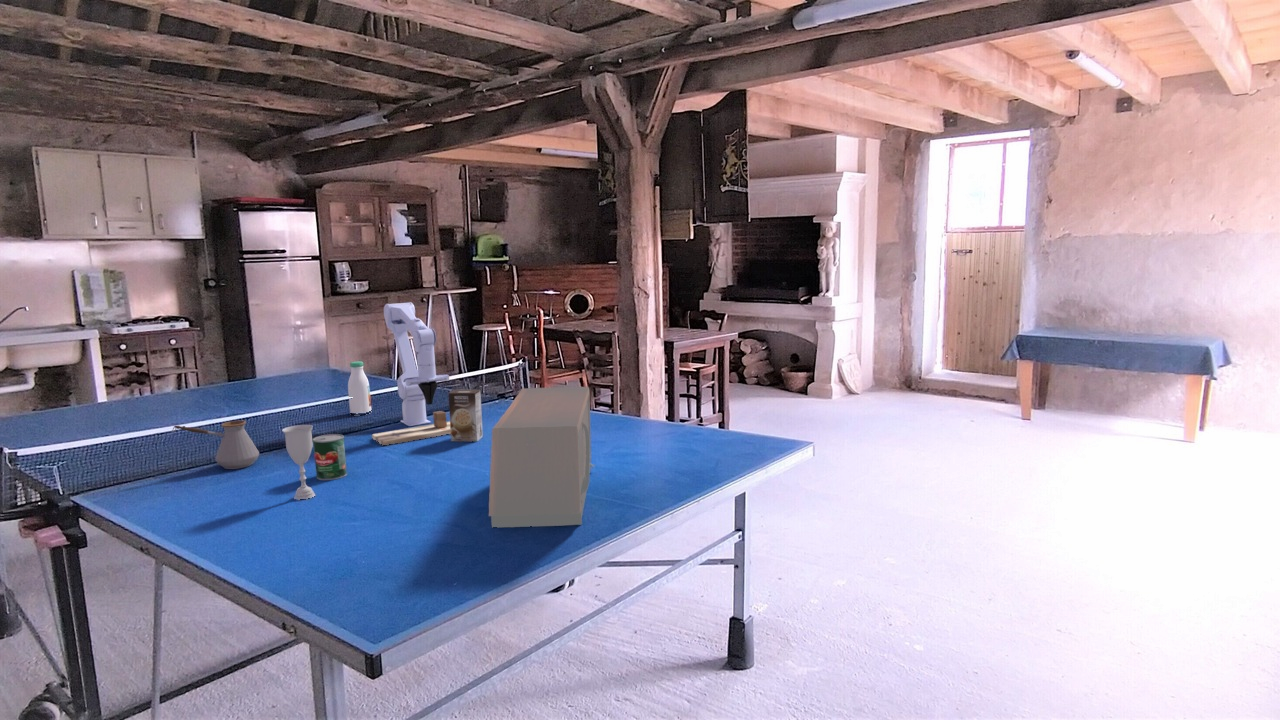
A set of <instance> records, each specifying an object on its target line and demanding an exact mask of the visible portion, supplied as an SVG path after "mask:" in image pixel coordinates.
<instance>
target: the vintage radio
mask: <svg viewBox="0 0 1280 720" xmlns="http://www.w3.org/2000/svg"><path fill="white" fill-rule="evenodd" d="M590 400H591V399H590V387H589V386H565V387H564V386H560V387H559V386H558V387H555V386H554V387H529V388H521V390H520V391H519V392H518V394H517V395H516V396H515V398H514V400H513V401H512V403H510V406H509V407H508V408H507V409H506V410H505V412H504V413H503V414H502V416H500V418H499V420H498V422H497V423H495V425H494V426H493V427H492V429H491V447H490V453H491V454H490V472H489V473H490V475H489V493H488V494H489V495H488V496H489V497H488V498H489V499H488V517H490V519H491V528H493V527H497V528H521V527H522V528H524V527H525V528H526V527H530V526H532V527H555V526H556V527H558V526H562V527H564V526H575V525H578V526H580V525H582V524H583V521H582V518H583V516H584V515H583V514H584V507H585V505H586V504H585V503H586V502H585V501H586V497H587V491H588V488H589V486H590V475H591V474H590V473H591V471H592V469H591V468H595V464H592V461H591V458H592V450H591V449H592V447H591V446H592V445H591V444H592V443H591V438H592V437H591V402H590ZM530 528H531V527H530Z"/></svg>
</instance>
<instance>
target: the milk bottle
mask: <svg viewBox="0 0 1280 720" xmlns="http://www.w3.org/2000/svg"><path fill="white" fill-rule="evenodd" d="M349 367H350V370H351V371H350V376H349V379H348V381H347V390H348V391H347V392H348V393H347V394H348V402H349V403H348V405H349V412H350V413H356V414H358V413H366V412H369V411H371V410H372V400H371V399H372V398H371V390H370V389H371V387H370V382H369V380H368V377H367V375H366V374H365V371H364V362H363V361H351V362H349ZM349 397H353V398H352V399H349ZM371 412H372V411H371Z"/></svg>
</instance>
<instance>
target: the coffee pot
mask: <svg viewBox="0 0 1280 720" xmlns="http://www.w3.org/2000/svg"><path fill="white" fill-rule="evenodd" d="M245 424H247V421H246V420H231V421H226V422H223V423H222V424H220V425H221V427H222V428H223V431H224V432H223V433H222V432H215V431H210V430H205V429H201V428H198V427H186V426H185V425H183V426H181V425H174V426H173V428H172V430H171V431H172V433H173V434H174V433H176V431H177V430H182V431H188V432H191V433H197V434H198V433H199V434H203V435H204V434H207V435H211V436H218V437H222V438H221V441H220V445H219V448H218V450H217V452H216V455H215V457H214V459H215V462H216V463H217V465H219V466H221V467H223V469H225V470H237V469H242V468H247V467H250V466H252V465H253V464H254V463H255V462H256V461H257V460H258V458H259V455H260V452H259V450H258V448H257V447H256V445H255V444H254V442H253V440H252V438H251V437H250V436H249V434H248V432H247V431H246V428H245Z"/></svg>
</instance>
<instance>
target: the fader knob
mask: <svg viewBox="0 0 1280 720" xmlns="http://www.w3.org/2000/svg"><path fill="white" fill-rule="evenodd" d="M432 414H433V415H432V416H433V424H434V426H435V427H437V428H441V427H447V422H448V421H447V412H445V411H444V410H443V411H442V410H439V411H433V412H432Z"/></svg>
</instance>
